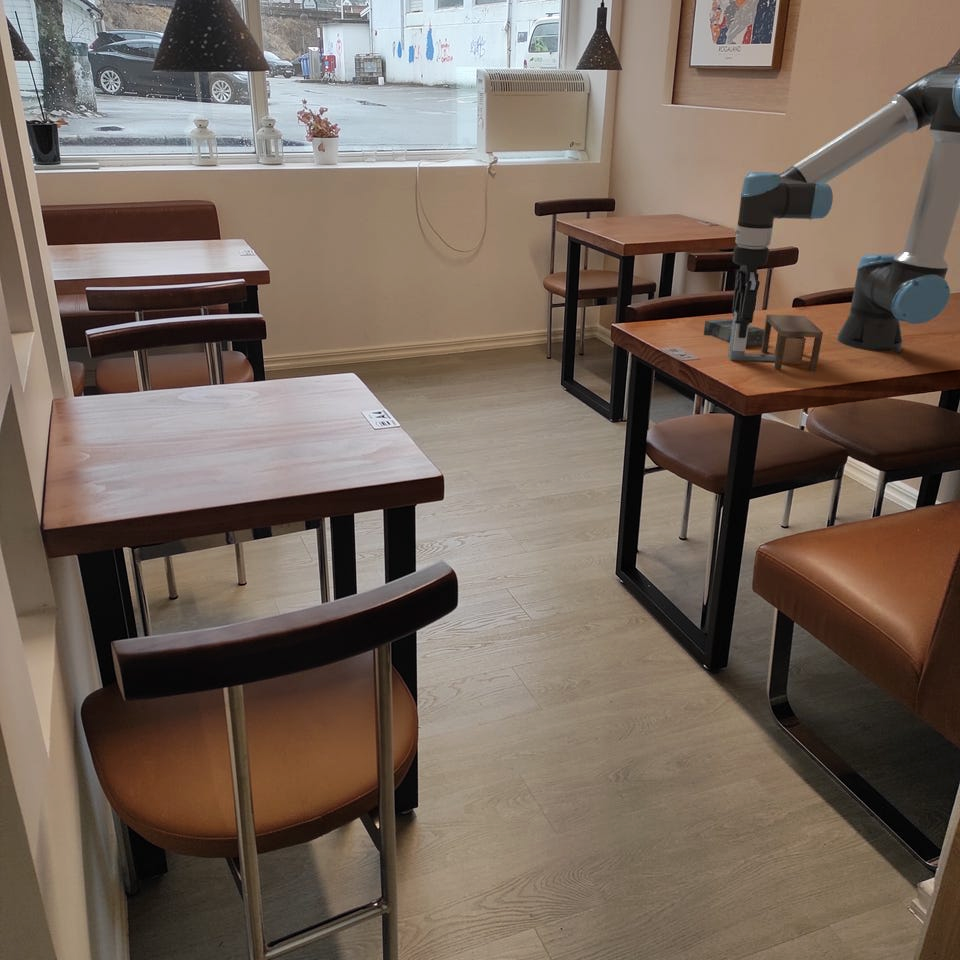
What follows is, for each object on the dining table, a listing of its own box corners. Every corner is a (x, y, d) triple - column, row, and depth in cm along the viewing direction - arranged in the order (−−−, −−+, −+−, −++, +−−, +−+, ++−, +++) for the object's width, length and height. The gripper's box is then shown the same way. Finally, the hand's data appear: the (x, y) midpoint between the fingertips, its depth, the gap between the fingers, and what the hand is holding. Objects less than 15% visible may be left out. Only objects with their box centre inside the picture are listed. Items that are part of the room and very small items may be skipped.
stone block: (730, 335, 236) (733, 315, 234) (767, 350, 224) (770, 329, 222) (702, 338, 232) (705, 318, 230) (738, 353, 220) (741, 332, 218)
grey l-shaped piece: (795, 357, 212) (803, 311, 208) (801, 364, 208) (809, 317, 203) (727, 355, 213) (733, 309, 209) (731, 361, 209) (737, 314, 204)
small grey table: (797, 357, 217) (805, 315, 213) (814, 376, 204) (823, 332, 200) (760, 356, 218) (766, 314, 213) (774, 374, 204) (781, 330, 200)
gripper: (727, 239, 207) (714, 338, 217) (742, 251, 193) (727, 357, 203) (760, 240, 207) (746, 339, 217) (777, 253, 193) (761, 359, 202)
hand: (737, 348), depth 210 cm, fingers closed on grey l-shaped piece, 3 cm apart
